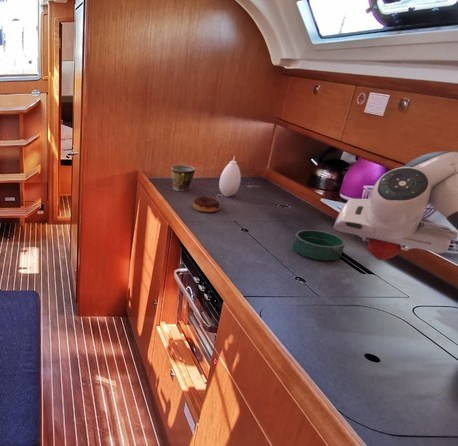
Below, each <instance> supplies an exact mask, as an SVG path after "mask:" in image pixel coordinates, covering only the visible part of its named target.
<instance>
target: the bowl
mask: <svg viewBox="0 0 458 446" xmlns="http://www.w3.org/2000/svg"><path fill="white" fill-rule="evenodd" d="M345 246H346V241H345V239H344V238H341V237H340V236H338V235H336V234H334V233H330V232H327V231H322V230H316V229H301V230H299V231H297V232H296V233H295V235H294V238H293V242H292V249H293V250H294V251H295V252H296V253H297V254H299V255H301V256H303V257H305V258H307V259H310V260H311V259H312V260H316V261H323V262H329V261H337V260H339V259H341V257H342V255H343V253H344V249H345Z"/></svg>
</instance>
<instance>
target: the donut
mask: <svg viewBox="0 0 458 446" xmlns="http://www.w3.org/2000/svg"><path fill="white" fill-rule="evenodd" d="M220 206H221V205H220V202H219V201H218V200H217V199H215V198H212V197H207V196H197V197H196V198H195V199H194V200H193V203H192V207H193V208H194V209H195V210H196V211H198V212H200V213H215V212H217V211H219V210H220Z"/></svg>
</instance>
